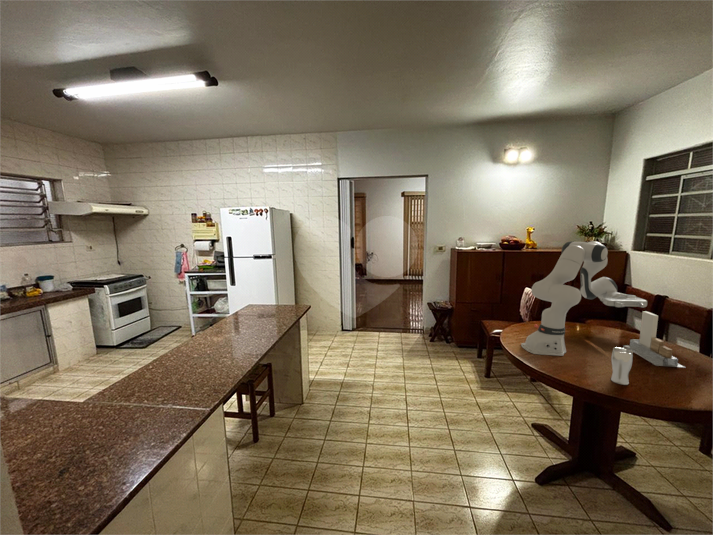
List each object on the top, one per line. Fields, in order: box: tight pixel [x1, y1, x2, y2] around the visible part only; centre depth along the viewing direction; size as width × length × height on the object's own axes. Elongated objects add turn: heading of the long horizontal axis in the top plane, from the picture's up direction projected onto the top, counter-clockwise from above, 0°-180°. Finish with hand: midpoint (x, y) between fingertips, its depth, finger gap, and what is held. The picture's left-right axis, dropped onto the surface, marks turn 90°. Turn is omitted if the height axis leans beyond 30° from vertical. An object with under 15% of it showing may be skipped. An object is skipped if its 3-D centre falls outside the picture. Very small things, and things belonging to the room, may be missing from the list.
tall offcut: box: [651, 337, 665, 353], centre depth 148 cm, size 2×5×10 cm, turn 166°
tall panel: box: [638, 310, 659, 349], centre depth 154 cm, size 2×8×22 cm, turn 166°
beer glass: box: [610, 346, 634, 386], centre depth 129 cm, size 7×7×15 cm
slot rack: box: [622, 338, 686, 369], centre depth 151 cm, size 12×25×6 cm, turn 166°
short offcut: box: [659, 345, 673, 358], centre depth 143 cm, size 2×5×8 cm, turn 166°
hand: (633, 305), depth 165 cm, fingers open, 8 cm apart
